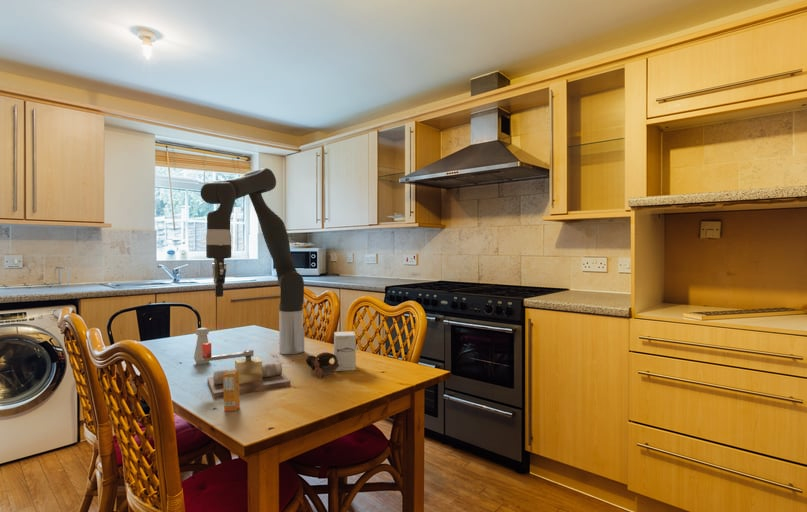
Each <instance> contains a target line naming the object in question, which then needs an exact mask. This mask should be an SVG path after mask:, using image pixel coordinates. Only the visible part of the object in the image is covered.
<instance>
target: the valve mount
mask: <svg viewBox="0 0 807 512" xmlns="http://www.w3.org/2000/svg"><path fill="white" fill-rule="evenodd" d="M227 371H238V376H239V395H243V394H249V393H255V392H261V391H266V390H272V389H277V388H284V386H285V387H290V386H291V380H290V378H288V377H287V376H286V375H285V374H284V373H283V366H282V363H281V362H273V363H265V364H263V360H261V359H260V357H258V356H255V357H253V356H252V357H244V358H240V359H234V368H228V369H222V370H221V369H220V370H215V371H213V372H212V373H213V374H212V375H213V376H212V377H206V378H207V384H208V387H209V389H210V392H211V394H212V397H213V399H218V398H224V392H223V375H224V374H225V373H226V372H227Z"/></svg>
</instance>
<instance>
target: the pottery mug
mask: <svg viewBox="0 0 807 512" xmlns="http://www.w3.org/2000/svg"><path fill="white" fill-rule="evenodd" d="M332 359H333V363H331V362H330V360H332ZM334 360H335V362H334ZM337 361H338V360H337V357H336V356H335V355H334V353H332V352H328V351H327V352H321V353H319V354H317V355H316V356H315V355H308V356H307V357H306V359H305V363H306V365H307V366H308V367H310V369H311V371H312V372H314V371H316V377H317V378H320V379H321V378H322V377H323V376H326V375H329V374H331V373H334V372H336V371H335V370H336V369H337V367H339V364H338V363H337Z"/></svg>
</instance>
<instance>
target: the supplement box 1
mask: <svg viewBox="0 0 807 512" xmlns="http://www.w3.org/2000/svg"><path fill="white" fill-rule="evenodd" d="M223 392H224V397H223V411H224V412H236V411H238V408H240V405H241V403H240V400H241V399H240V394H239V376H238V371H227V372H226V373H225V374H224V375H223Z"/></svg>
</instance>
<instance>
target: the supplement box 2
mask: <svg viewBox="0 0 807 512" xmlns="http://www.w3.org/2000/svg"><path fill="white" fill-rule="evenodd" d="M356 340H357V336H356V333H355V331H334V332H333V354H334V355H335V356H336V357H337V360H338V361H337V363H338V364H339V367H337V369H336V370H335V371H334V372H342V371H356V369H357V368H356V358H357V357H356V352H357V351H356V344H357V343H356ZM334 362H335V360H334V359H333V363H334Z"/></svg>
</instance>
